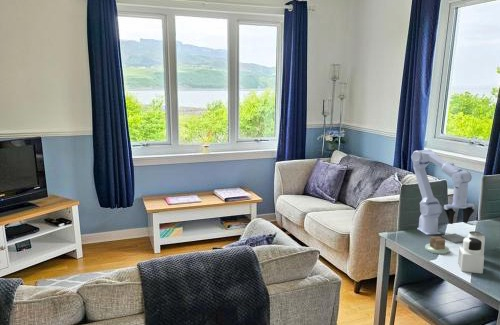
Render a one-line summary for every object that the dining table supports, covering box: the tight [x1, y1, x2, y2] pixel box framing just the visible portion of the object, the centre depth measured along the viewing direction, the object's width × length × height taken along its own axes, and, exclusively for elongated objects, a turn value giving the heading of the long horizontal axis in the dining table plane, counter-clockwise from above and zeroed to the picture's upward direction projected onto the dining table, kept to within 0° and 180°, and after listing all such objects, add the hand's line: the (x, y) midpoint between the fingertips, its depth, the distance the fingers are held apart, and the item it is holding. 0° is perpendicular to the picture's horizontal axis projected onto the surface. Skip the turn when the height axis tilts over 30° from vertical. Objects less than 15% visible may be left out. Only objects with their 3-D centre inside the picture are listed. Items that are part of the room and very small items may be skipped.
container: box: [457, 237, 485, 275], centre depth 154 cm, size 8×8×13 cm
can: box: [467, 230, 486, 256], centre depth 163 cm, size 6×6×12 cm
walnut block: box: [429, 236, 446, 250], centre depth 174 cm, size 4×4×4 cm
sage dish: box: [424, 242, 450, 255], centre depth 175 cm, size 10×10×1 cm
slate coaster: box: [440, 233, 466, 244], centre depth 187 cm, size 9×9×1 cm
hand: (457, 222), depth 180 cm, fingers open, 7 cm apart
